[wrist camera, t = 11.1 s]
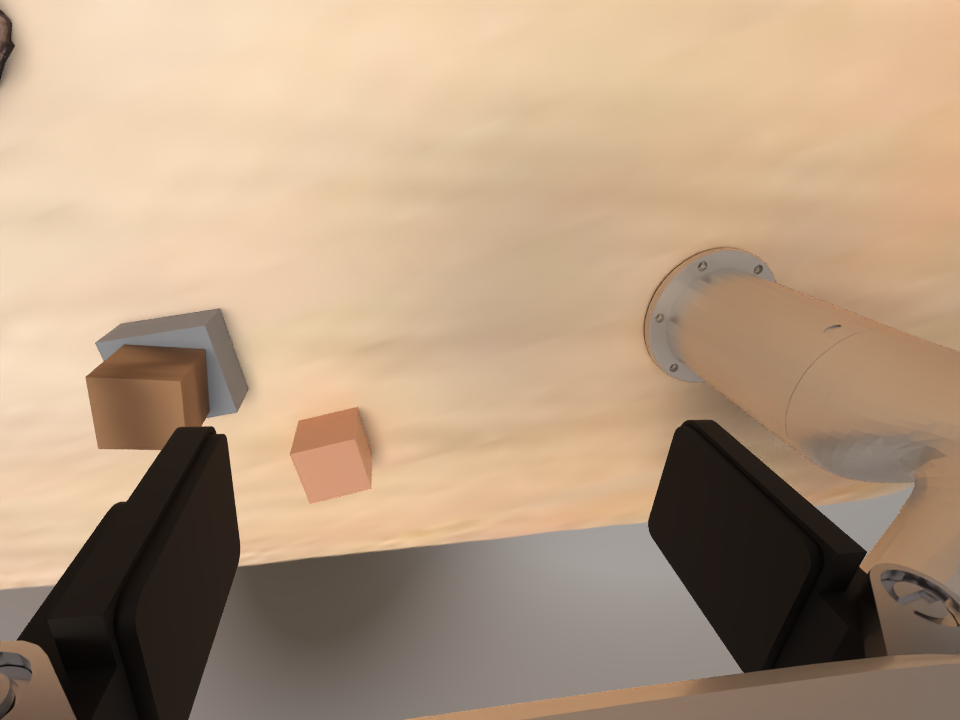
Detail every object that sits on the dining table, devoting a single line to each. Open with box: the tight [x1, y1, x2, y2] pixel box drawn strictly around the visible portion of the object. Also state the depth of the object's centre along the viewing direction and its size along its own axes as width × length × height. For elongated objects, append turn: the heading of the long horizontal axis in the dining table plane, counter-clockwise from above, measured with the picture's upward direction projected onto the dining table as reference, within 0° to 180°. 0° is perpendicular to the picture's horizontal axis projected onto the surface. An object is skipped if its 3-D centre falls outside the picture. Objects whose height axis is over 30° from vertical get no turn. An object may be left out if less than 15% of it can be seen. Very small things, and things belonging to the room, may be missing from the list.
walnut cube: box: [86, 344, 210, 450], centre depth 33 cm, size 5×5×5 cm
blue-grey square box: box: [95, 309, 248, 418], centre depth 37 cm, size 7×7×4 cm
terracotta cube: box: [290, 407, 372, 504], centre depth 42 cm, size 5×5×5 cm
